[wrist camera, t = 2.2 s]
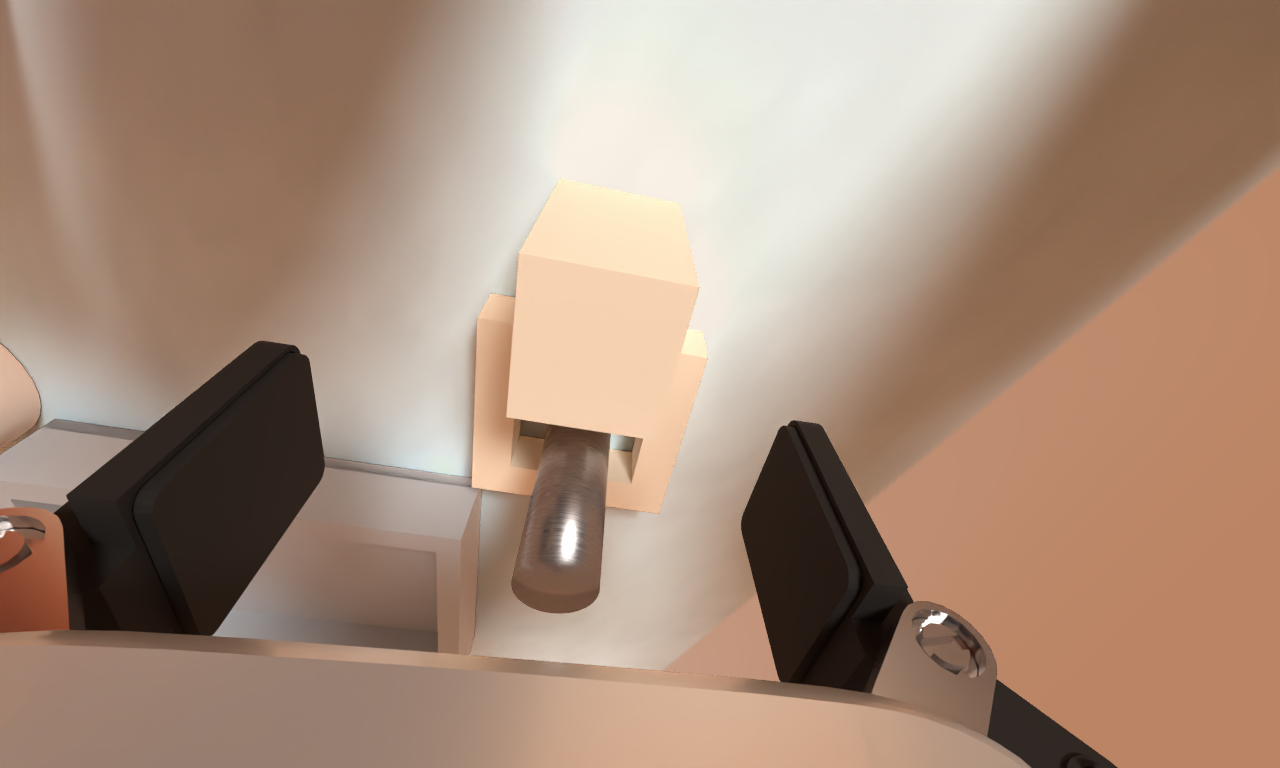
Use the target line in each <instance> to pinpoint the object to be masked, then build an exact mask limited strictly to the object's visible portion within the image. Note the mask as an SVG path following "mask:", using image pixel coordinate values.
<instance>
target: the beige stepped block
mask: <svg viewBox="0 0 1280 768" xmlns="http://www.w3.org/2000/svg"><path fill="white" fill-rule="evenodd" d="M699 288H700V287H699V282H698V278H697V274H696V270H695V266H694V262H693V257H692V253H691V249H690V245H689V241H688V236H687V232H686V228H685V224H684V220H683V216H682V211H681V207H680V203H676V202H671V201H666V200H661V199H656V198H652V197H647V196H642V195H637V194H632V193H627V192H623V191H618V190H613V189H608V188H603V187H599V186H594V185H589V184H584V183H579V182H574V181H570V180H565V179H559V181H558V183H557V185H556V186H555V188H554V190H553V192H552V194H551V196H550V197H549V199H548V201H547V203H546V205H545V206H544V208H543V210H542V212H541V214H540V215H539V217H538V219H537V221H536V223H535V224H534V226H533V228H532V230H531V232H530V234H529V235H528V237H527V239H526V241H525V243H524V244H523V246H522V248H521V250H520V252H519V258H518V271H517V284H516V297H509V296H503V295H498V294H492V293H491V295H490V297H489V298H488V300H487V302H486V304H485V305H484V307H483V309H482V311H481V312H480V314H479V316H478V318H477V345H476V374H475V403H474V432H473V461H472V488H479V489H486V490H493V491H501V492H508V493H515V494H522V495H529V496H532V492H533V488H534V483H535V479H536V475H537V471H538V466H539V462H540V458H541V453H542V449H543V445H544V441H545V439H542V438H535V437H528V436H522V435H519V434H520V424H521V420H527V421H533V422H540V423H546V424H553V425H559V426H566V427H572V428H578V429H585V430H591V431H598V432H604V433H610V434H617V435H623V436H630V437H636V438H635V442H634V446H633V450H632V452H627V451H620V450H614V449H610V450H609V464H608V478H607V492H606V506H607V507H615V508H622V509H629V510H636V511H643V512H650V513H657V514H659V511H660V508H661V505H662V502H663V499H664V495H665V492H666V489H667V486H668V483H669V480H670V477H671V473H672V470H673V467H674V464H675V461H676V458H677V454H678V451H679V448H680V445H681V442H682V439H683V435H684V432H685V429H686V426H687V423H688V420H689V417H690V413H691V410H692V407H693V404H694V401H695V398H696V394H697V391H698V388H699V385H700V382H701V379H702V375H703V372H704V369H705V366H706V363H707V360H708V356H707V351H706V346H705V342H704V337H703V332H702V331H697V330H691V329H688V327H689V323H690V319H691V316H692V312H693V309H694V305H695V302H696V298H697V295H698V291H699Z"/></svg>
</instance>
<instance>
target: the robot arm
mask: <svg viewBox="0 0 1280 768" xmlns="http://www.w3.org/2000/svg"><path fill="white" fill-rule="evenodd" d="M324 469H325V460H324V453H323V447H322V440H321V434H320V427H319V421H318V414H317V407H316V401H315V394H314V388H313V381H312V374H311V368H310V362H309V359H308V357H307V356H306V355H302V354H300V351H299V349H298V348H297V347H296V346H294V345H288V344H281V343H274V342H268V341H258V342H256V343H254V344H253V345H252V346H251V347H249V348H248V349H247V350H246V351H244V352H243V353H242V354H241V355H239V356H238V357H237V358H236V359H235V360H233V361H232V362H231V363H230V364H228V365H227V366H226V367H225V368H223V369H222V370H221V371H220V372H218V373H217V374H216V375H215V376H213V377H212V378H211V379H210V380H208V381H207V382H206V383H205V384H203V385H202V386H201V387H200V388H199V389H197V390H196V391H195V392H194V393H192V394H191V395H190V396H189V397H187V398H186V399H185V400H184V401H182V402H181V403H180V404H179V405H177V406H176V407H175V408H174V409H172V410H171V411H170V412H169V413H167V414H166V415H165V416H164V417H163V418H161V419H160V420H159V421H158V422H156V423H155V424H154V425H153V426H151V427H150V428H149V429H148V430H146V431H145V432H144V433H143V434H141V435H140V436H139V437H138V438H136V439H135V440H134V441H133V442H131V443H130V444H129V445H128V446H127V447H125V448H124V449H123V450H122V451H120V452H119V453H118V454H117V455H115V456H114V457H113V458H112V459H110V460H109V461H108V462H107V463H105V464H104V465H103V466H102V467H100V468H99V469H98V470H97V471H95V472H94V473H93V474H92V475H91V476H89V477H88V478H87V479H86V480H84V481H83V482H82V483H81V484H79V485H78V486H77V487H76V488H74V489H73V490H72V491H71V492H69V493H68V494H67V495H66V497H67V499H68V502H66V503H65V504H64V505H63V506H62V507H60V508H59V509H58V510H57V511H55V512H54V513H51V512H50V511H48V510H45V509H39V508H33V507H13V508H3V509H0V768H1117V767H1116V766H1115V765H1114V764H1112V763H1111V762H1110V761H1109V760H1107V759H1106V758H1104V757H1103V756H1102V755H1100V754H1099V753H1098V752H1096V751H1095V750H1093V749H1092V748H1091V747H1089V746H1088V745H1086V744H1085V743H1084V742H1082V741H1081V740H1079V739H1078V738H1077V737H1075V736H1074V735H1073V734H1071V733H1070V732H1069V731H1067V730H1066V729H1064V728H1063V727H1062V726H1060V725H1059V724H1058V723H1056V722H1055V721H1053V720H1052V719H1051V718H1049V717H1048V716H1046V715H1045V714H1044V713H1042V712H1041V711H1040V710H1038V709H1037V708H1036V707H1034V706H1033V705H1031V704H1030V703H1029V702H1027V701H1026V700H1025V699H1023V698H1022V697H1020V696H1019V695H1018V694H1016V693H1015V692H1014V691H1012V690H1011V689H1009V688H1008V687H1007V686H1005V685H1004V684H1003V683H1001V682H1000V681H998V680H997V679H996V678H997V664H996V660H995V658H994V655H993V653H992V650H991V648H990V647H989V645H988V644H987V642H986V641H985V639H984V638H983V636H982V635H981V634H980V633H979V632H978V631H977V630H976V629H975V628H974V627H973V626H972V625H971V624H970V623H969V622H968V621H966V620H965V619H964V618H962V617H961V616H960V615H958V614H957V613H955V612H954V611H952V610H950V609H947V608H946V607H944V606H942V605H939V604H935V603H932V602H926V601H917V602H913V600H912V598H911V596H910V594H909V592H908V590H907V588H908V586H907V584H906V582H905V580H904V579H903V577H902V575H901V573H900V571H899V569H898V567H897V565H896V564H895V562H894V560H893V559H892V556H891V554H890V552H889V550H888V549H887V547H886V545H885V543H884V541H883V539H882V538H881V536H880V534H879V532H878V530H877V528H876V526H875V524H874V523H873V521H872V519H871V517H870V515H869V513H868V511H867V509H866V507H865V506H864V504H863V502H862V500H861V498H860V496H859V494H858V492H857V491H856V489H855V487H854V485H853V483H852V481H851V479H850V477H849V476H848V474H847V472H846V470H845V468H844V466H843V464H842V462H841V461H840V459H839V457H838V455H837V453H836V451H835V449H834V448H833V446H832V444H831V442H830V440H829V438H828V436H827V434H826V433H825V431H824V429H823V427H822V426H821V425H819V424H816V423H809V422H802V421H795V420H794V421H791V422H790V423H789V424H788V426H782V427H781V428H780V429H779V431H778V433H777V436H776V438H775V440H774V443H773V445H772V447H771V450H770V452H769V454H768V457H767V459H766V461H765V464H764V466H763V468H762V471H761V473H760V476H759V478H758V480H757V483H756V485H755V487H754V490H753V492H752V494H751V497H750V499H749V501H748V504H747V506H746V508H745V511H744V513H743V516H742V521H741V530H742V535H743V539H744V543H745V547H746V551H747V555H748V559H749V563H750V567H751V571H752V575H753V579H754V583H755V587H756V591H757V595H758V598H759V602H760V606H761V610H762V614H763V618H764V622H765V626H766V630H767V634H768V638H769V642H770V645H771V650H772V654H773V658H774V662H775V666H776V670H777V674H778V677H779V680H780V681H781V682H776V681H766V680H756V679H746V678H736V677H724V676H713V675H701V674H690V673H678V672H666V671H655V670H643V669H632V668H620V667H608V666H596V665H584V664H572V663H560V662H547V661H535V660H523V659H510V658H498V657H485V656H473V655H460V654H448V653H435V652H422V651H410V650H396V649H383V648H370V647H357V646H343V645H330V644H317V643H303V642H290V641H277V640H263V639H250V638H235V637H218V636H212V635H213V634H214V633H215V632H216V631H217V630H218V628H219V627H220V626H221V624H222V623H223V621H224V620H225V618H226V617H227V615H228V614H229V613H230V611H231V610H232V608H233V607H234V605H235V604H236V602H237V601H238V600H239V598H240V597H241V595H242V594H243V592H244V591H245V589H246V588H247V587H248V585H249V584H250V582H251V581H252V579H253V578H254V577H255V575H256V574H257V572H258V571H259V569H260V568H261V566H262V565H263V564H264V562H265V561H266V559H267V558H268V556H269V555H270V553H271V552H272V551H273V549H274V548H275V546H276V545H277V543H278V542H279V540H280V539H281V538H282V536H283V535H284V533H285V532H286V530H287V529H288V527H289V526H290V525H291V523H292V522H293V520H294V519H295V517H296V516H297V514H298V513H299V512H300V510H301V509H302V507H303V506H304V504H305V503H306V501H307V500H308V499H309V497H310V496H311V494H312V493H313V491H314V490H315V489H316V487H317V486H318V484H319V483H320V481H321V479H322V477H323V474H324Z"/></svg>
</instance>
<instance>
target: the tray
mask: <svg viewBox="0 0 1280 768" xmlns="http://www.w3.org/2000/svg"><path fill="white" fill-rule="evenodd" d="M143 433H144V431H137V430H130V429H123V428H115V427H108V426H101V425H94V424H87V423H80V422H73V421H66V420H59V419H54V420H52V421H51V422H49V423H48V424H46V425H45V426H43V427H42V428H40V429H39V430H37V431H36V432H34V433H33V434H31V435H30V436H28V437H26V438H25V439H23V440H22V441H20V442H19V443H17V444H16V445H14V446H13V447H11V448H10V449H8V450H7V451H5V452H4V453H2V454H1V455H0V509H3V508H13V507H33V508H39V509H45V510H48V511H50V512H51V513H54V512H55V511H57V510H58V509H59V508H60V507H62V506H63V505H64V504H65V503H66V502H68V499H67V497H66V495H67V494H68V493H69V492H71V491H72V490H73V489H74V488H76V487H77V486H78V485H79V484H81V483H82V482H83V481H84V480H86V479H87V478H88V477H89V476H91V475H92V474H93V473H94V472H95V471H97V470H98V469H99V468H100V467H102V466H103V465H104V464H105V463H107V462H108V461H109V460H110V459H112V458H113V457H114V456H115V455H117V454H118V453H119V452H120V451H122V450H123V449H124V448H125V447H127V446H128V445H129V444H130V443H131V442H133V441H134V440H135V439H136V438H138V437H139V436H140V435H141V434H143ZM324 460H325V469H324V474H323V477H322V479H321V481H320V483H319V484H318V486H317V487H316V489H315V490H314V491H313V493H312V494H311V496H310V497H309V499H308V500H307V501H306V503H305V504H304V506H303V507H302V509H301V510H300V512H299V513H298V514H297V516H296V517H295V519H294V520H293V522H292V523H291V525H290V526H289V527H288V529H287V530H286V532H285V533H284V535H283V536H282V538H281V539H280V540H279V542H278V543H277V545H276V546H275V548H274V549H273V551H272V552H271V553H270V555H269V556H268V558H267V559H266V561H265V562H264V564H263V565H262V566H261V568H260V569H259V571H258V572H257V574H256V575H255V577H254V578H253V579H252V581H251V582H250V584H249V585H248V587H247V588H246V589H245V591H244V592H243V594H242V595H241V597H240V598H239V600H238V601H237V602H236V604H235V605H234V607H233V608H232V610H231V611H230V613H229V614H228V615H227V617H226V618H225V620H224V621H223V623H222V624H221V626H220V627H219V628H218V630H217V631H216V632H215V633H214V634H213V635H212V636H218V637H235V638H250V639H263V640H277V641H290V642H303V643H317V644H330V645H343V646H357V647H370V648H383V649H396V650H410V651H422V652H435V653H448V654H460V655H469V654H470V650H471V647H472V643H473V640H474V635H475V615H476V594H477V574H478V554H479V534H480V513H481V493H482V489H479V488H472V478H467V477H460V476H453V475H446V474H439V473H432V472H425V471H418V470H411V469H404V468H397V467H390V466H383V465H376V464H369V463H362V462H355V461H348V460H341V459H334V458H326V457H324Z"/></svg>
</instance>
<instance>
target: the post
mask: <svg viewBox="0 0 1280 768" xmlns="http://www.w3.org/2000/svg"><path fill="white" fill-rule="evenodd" d="M610 436H611V434H610V433H604V432H598V431H591V430H585V429H578V428H572V427H566V426H559V425H553V424H548V428H547V432H546V436H545V441H544V445H543V449H542V453H541V458H540V462H539V466H538V471H537V475H536V479H535V483H534V488H533V492H532V496H531V501H530V505H529V509H528V513H527V518H526V522H525V526H524V531H523V535H522V539H521V543H520V548H519V552H518V556H517V561H516V565H515V569H514V573H513V578H512V590H513V592H514V594H515V595H516V597H517V598H518V599H519V600H520V601H522V602H523V603H524V604H526V605H528V606H529V607H531V608H534V609H536V610H539V611H543V612H549V613H570V612H575V611H578V610H581V609H583V608H586V607H587V606H589V605H590V604H592V603H593V602H594V601H595V600H596V598H597V596H598V594H599V589H600V575H601V561H602V547H603V533H604V519H605V506H606V492H607V478H608V464H609V450H610Z"/></svg>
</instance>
